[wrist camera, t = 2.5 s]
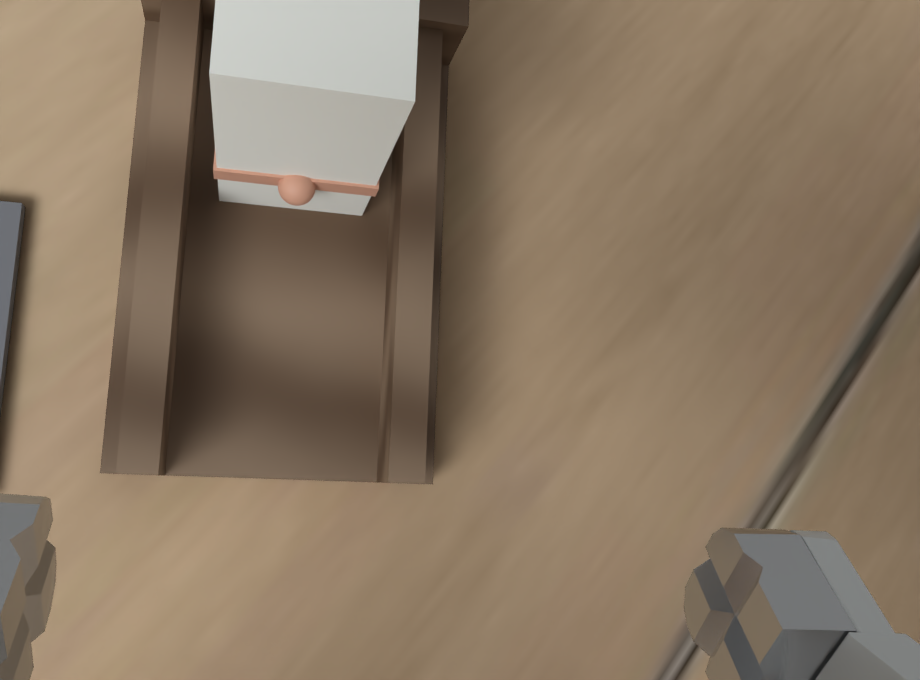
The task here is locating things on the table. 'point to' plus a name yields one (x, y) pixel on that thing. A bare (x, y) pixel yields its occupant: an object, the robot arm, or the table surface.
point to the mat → (8, 274)
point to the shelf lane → (275, 291)
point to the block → (309, 98)
